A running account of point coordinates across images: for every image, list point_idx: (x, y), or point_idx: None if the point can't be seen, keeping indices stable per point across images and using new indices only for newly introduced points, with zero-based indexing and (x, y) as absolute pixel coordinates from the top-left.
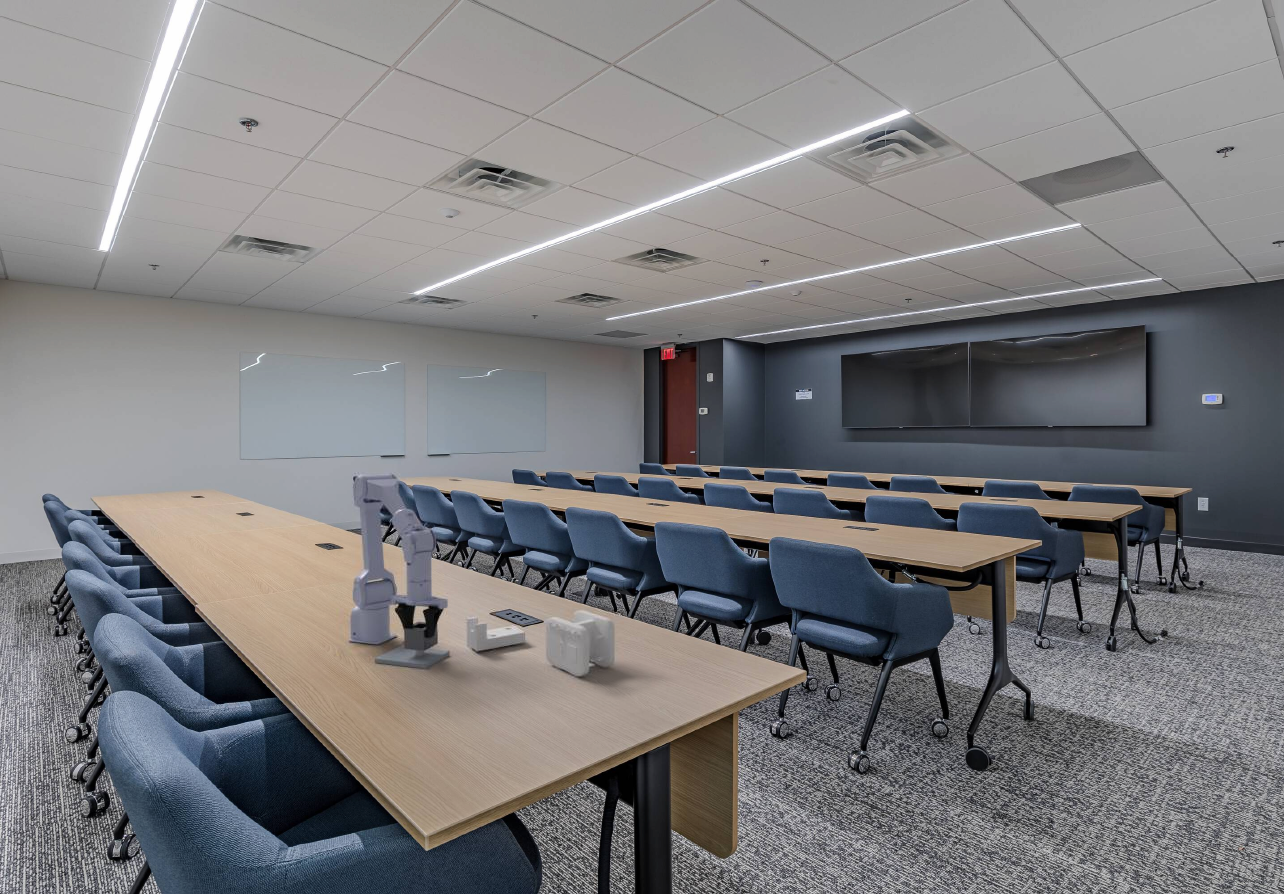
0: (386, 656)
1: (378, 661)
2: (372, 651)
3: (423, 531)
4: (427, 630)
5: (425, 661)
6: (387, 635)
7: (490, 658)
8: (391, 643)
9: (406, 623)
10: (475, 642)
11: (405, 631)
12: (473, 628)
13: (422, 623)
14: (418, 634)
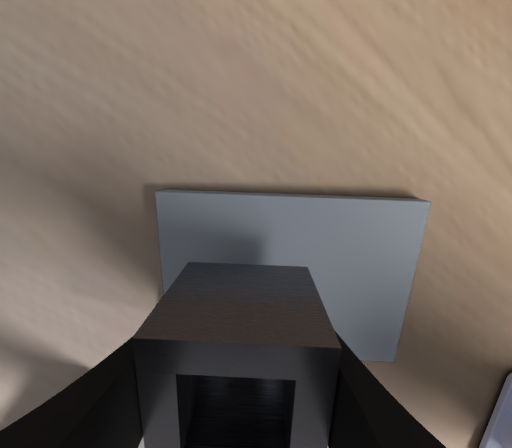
0: (388, 238)
1: (402, 199)
2: (495, 309)
3: None
4: (122, 353)
5: (179, 227)
6: (510, 437)
7: (18, 342)
8: (460, 394)
9: (353, 414)
10: None
11: (320, 328)
12: None
13: None
14: (199, 313)
